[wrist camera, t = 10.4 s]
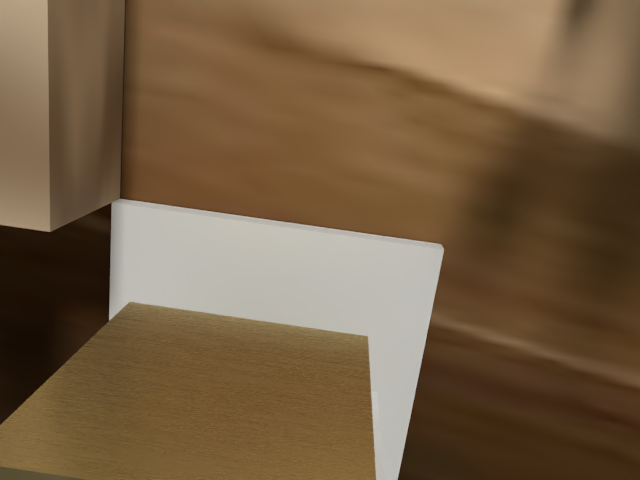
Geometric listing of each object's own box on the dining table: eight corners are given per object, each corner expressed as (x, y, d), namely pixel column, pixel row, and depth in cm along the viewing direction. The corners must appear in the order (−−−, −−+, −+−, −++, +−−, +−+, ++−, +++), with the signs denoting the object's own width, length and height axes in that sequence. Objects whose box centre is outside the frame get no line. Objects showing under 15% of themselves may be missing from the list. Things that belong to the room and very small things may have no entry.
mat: (120, 198, 17) (111, 202, 16) (440, 243, 17) (443, 249, 16) (112, 490, 20) (105, 502, 19) (383, 532, 20) (383, 546, 19)
